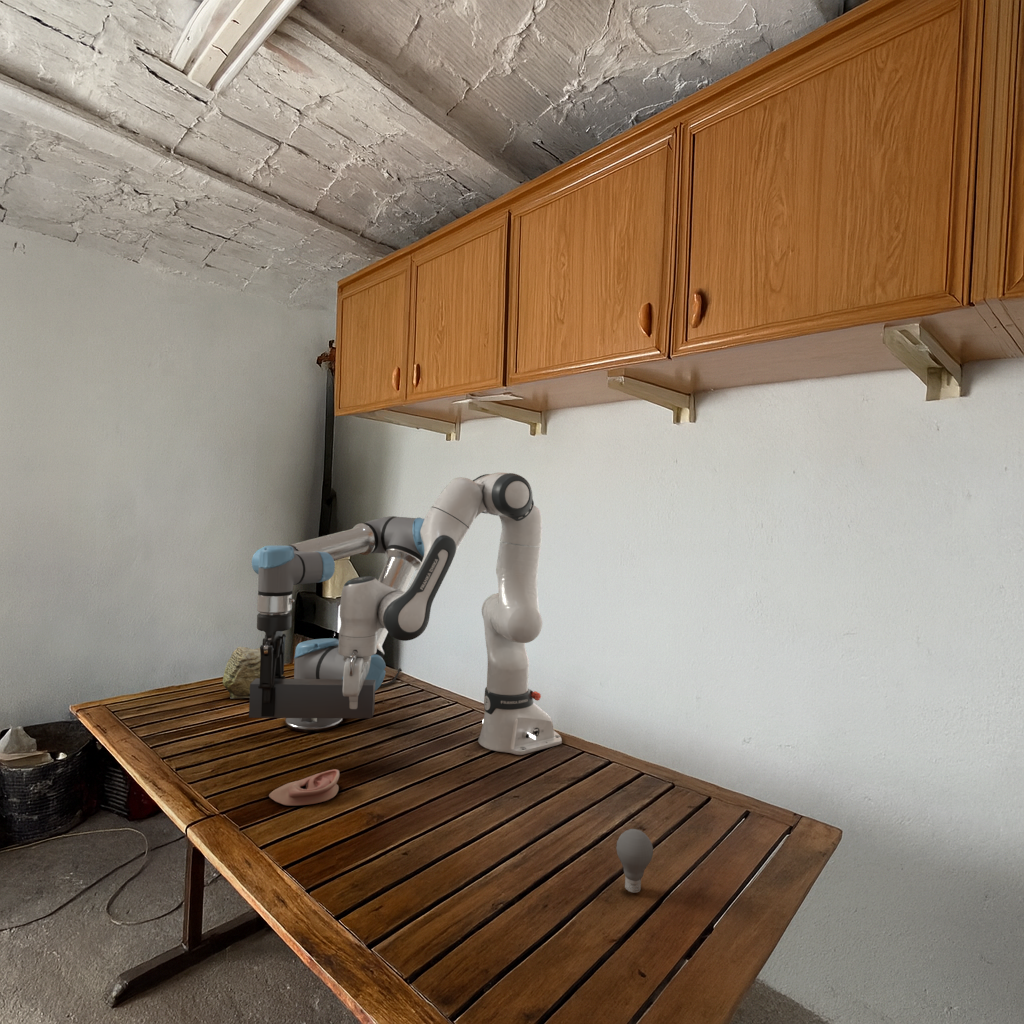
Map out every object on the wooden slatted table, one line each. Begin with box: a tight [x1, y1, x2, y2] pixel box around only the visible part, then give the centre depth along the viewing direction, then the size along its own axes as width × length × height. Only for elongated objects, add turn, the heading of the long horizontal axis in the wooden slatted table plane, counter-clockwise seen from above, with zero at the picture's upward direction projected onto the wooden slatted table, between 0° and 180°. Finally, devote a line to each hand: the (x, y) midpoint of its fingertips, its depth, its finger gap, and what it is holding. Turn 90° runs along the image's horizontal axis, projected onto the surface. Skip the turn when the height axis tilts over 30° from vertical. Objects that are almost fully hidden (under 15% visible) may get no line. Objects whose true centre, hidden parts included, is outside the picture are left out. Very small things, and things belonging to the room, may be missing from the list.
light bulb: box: [615, 828, 654, 894], centre depth 106 cm, size 6×6×10 cm
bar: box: [248, 678, 376, 720], centre depth 148 cm, size 28×5×8 cm, turn 96°
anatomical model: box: [268, 768, 340, 807], centre depth 134 cm, size 13×4×12 cm
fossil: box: [222, 646, 284, 699], centre depth 198 cm, size 9×18×15 cm, turn 132°
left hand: (270, 711), depth 147 cm, fingers closed on bar, 5 cm apart
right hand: (355, 703), depth 150 cm, fingers closed on bar, 4 cm apart
